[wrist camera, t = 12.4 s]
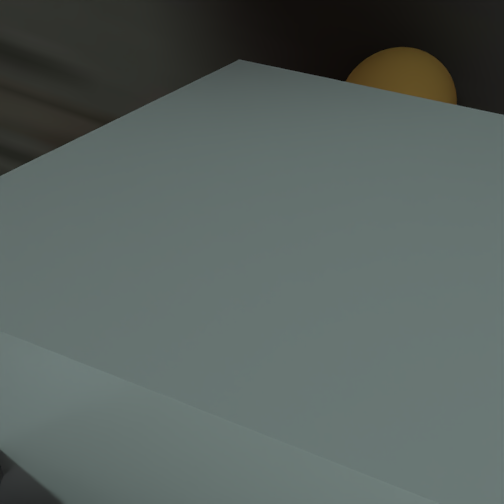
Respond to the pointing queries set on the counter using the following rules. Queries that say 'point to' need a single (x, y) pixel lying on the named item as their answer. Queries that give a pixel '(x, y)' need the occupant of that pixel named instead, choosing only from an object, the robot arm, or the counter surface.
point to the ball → (406, 74)
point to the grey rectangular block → (257, 301)
